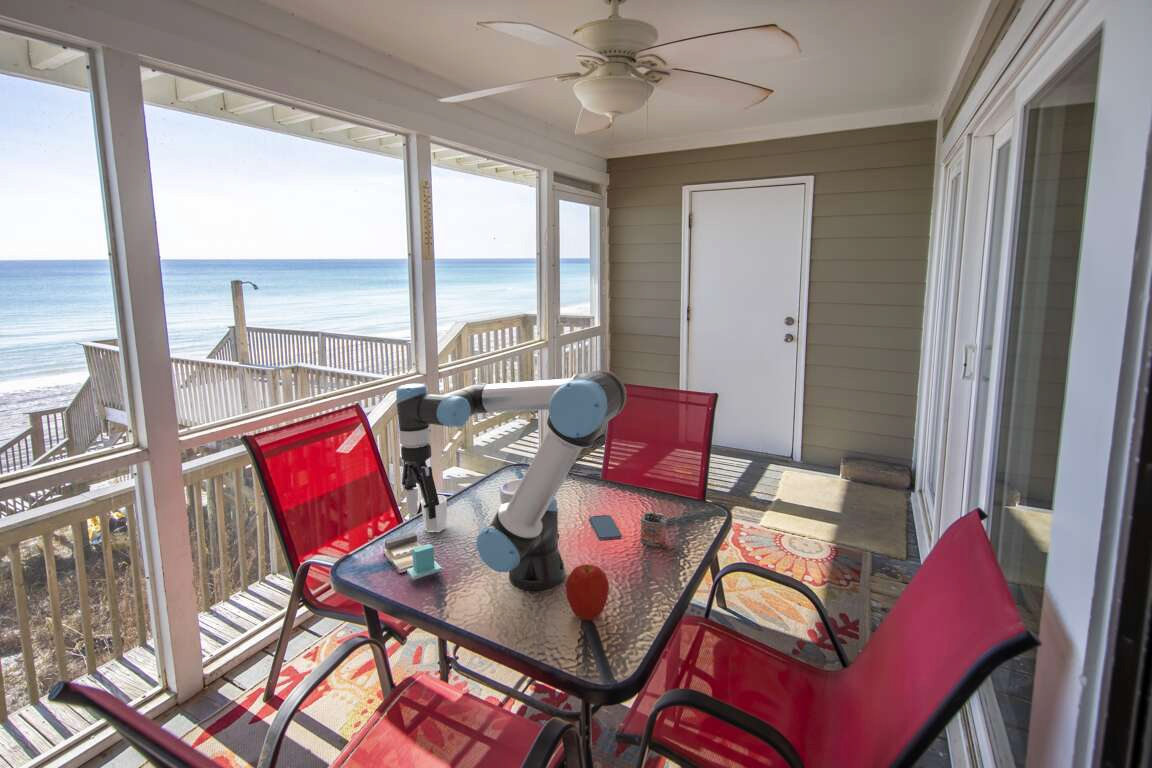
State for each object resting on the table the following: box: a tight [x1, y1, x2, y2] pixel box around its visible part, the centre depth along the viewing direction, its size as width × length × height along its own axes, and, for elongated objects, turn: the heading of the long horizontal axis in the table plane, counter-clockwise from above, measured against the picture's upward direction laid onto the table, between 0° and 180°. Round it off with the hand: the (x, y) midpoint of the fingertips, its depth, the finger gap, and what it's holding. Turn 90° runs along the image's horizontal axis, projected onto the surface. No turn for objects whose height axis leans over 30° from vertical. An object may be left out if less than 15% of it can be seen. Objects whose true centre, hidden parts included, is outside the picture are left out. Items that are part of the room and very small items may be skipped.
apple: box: [565, 563, 610, 621], centre depth 140 cm, size 10×10×14 cm
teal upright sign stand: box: [406, 543, 443, 580], centre depth 159 cm, size 5×8×7 cm, turn 125°
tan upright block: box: [639, 510, 667, 548], centre depth 177 cm, size 8×3×10 cm, turn 62°
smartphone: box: [588, 514, 622, 541], centre depth 188 cm, size 8×2×15 cm
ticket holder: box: [382, 532, 422, 570], centre depth 169 cm, size 14×10×4 cm
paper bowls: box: [499, 478, 523, 505], centre depth 204 cm, size 15×15×8 cm
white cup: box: [420, 494, 448, 532], centre depth 188 cm, size 8×8×10 cm
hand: (422, 520), depth 156 cm, fingers open, 13 cm apart
